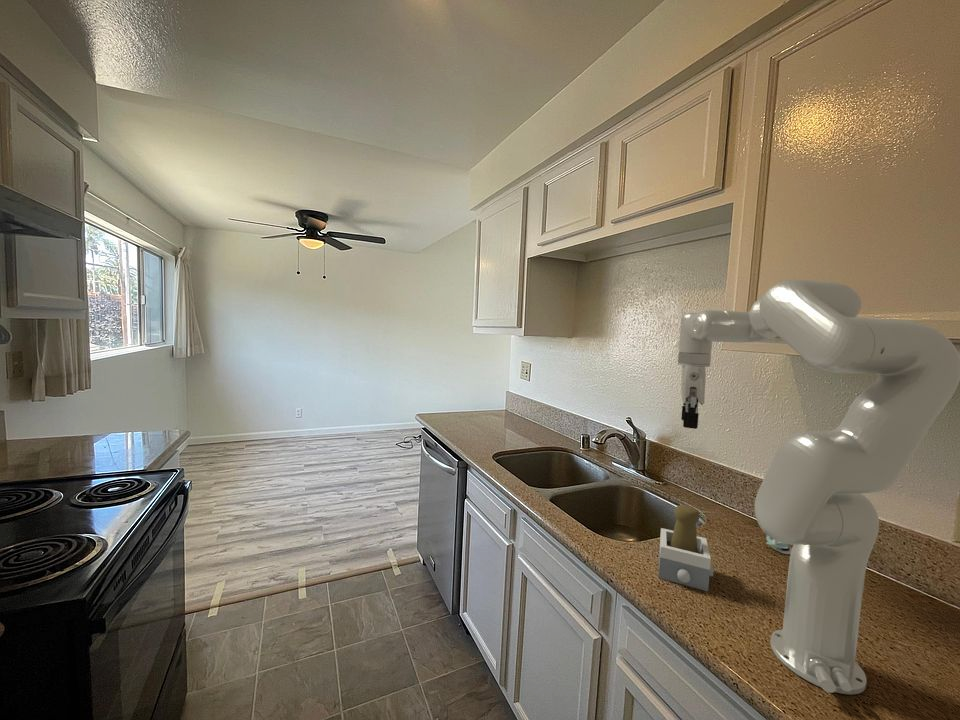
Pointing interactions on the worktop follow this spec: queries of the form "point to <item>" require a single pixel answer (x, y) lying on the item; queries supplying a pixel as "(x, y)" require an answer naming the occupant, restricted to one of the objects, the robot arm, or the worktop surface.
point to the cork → (685, 528)
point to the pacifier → (778, 545)
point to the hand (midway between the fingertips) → (688, 424)
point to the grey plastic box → (685, 563)
